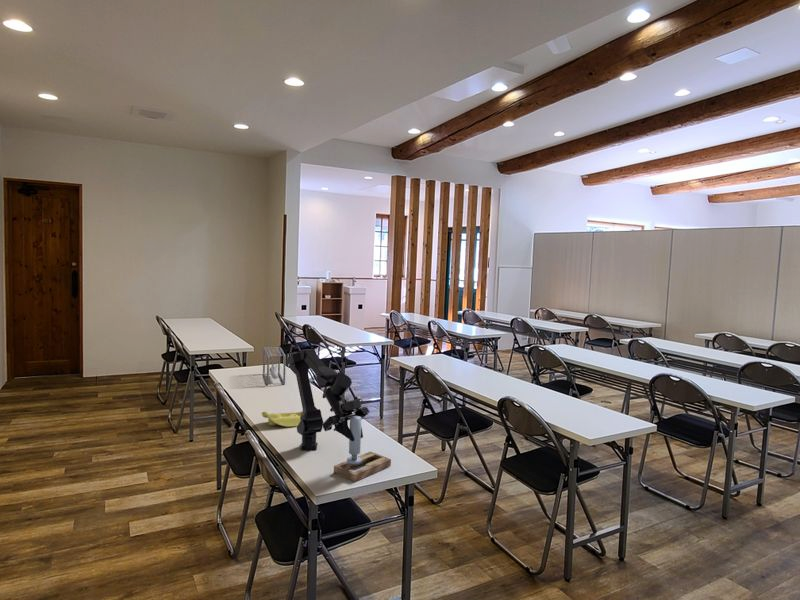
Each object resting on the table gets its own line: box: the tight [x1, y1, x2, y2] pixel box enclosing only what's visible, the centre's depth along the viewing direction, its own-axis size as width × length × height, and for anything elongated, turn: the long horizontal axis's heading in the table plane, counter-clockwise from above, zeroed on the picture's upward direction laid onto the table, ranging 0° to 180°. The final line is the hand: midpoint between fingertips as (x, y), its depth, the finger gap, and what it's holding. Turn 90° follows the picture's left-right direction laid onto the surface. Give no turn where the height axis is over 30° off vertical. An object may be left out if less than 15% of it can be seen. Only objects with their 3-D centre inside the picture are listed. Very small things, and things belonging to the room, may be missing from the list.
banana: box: [261, 410, 302, 428], centre depth 230 cm, size 20×7×10 cm
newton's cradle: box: [262, 346, 287, 386], centre depth 309 cm, size 30×10×18 cm, turn 19°
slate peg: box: [346, 416, 362, 465], centre depth 180 cm, size 5×5×16 cm
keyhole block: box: [333, 451, 392, 483], centre depth 185 cm, size 19×10×3 cm, turn 140°
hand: (357, 439), depth 179 cm, fingers closed on slate peg, 4 cm apart
